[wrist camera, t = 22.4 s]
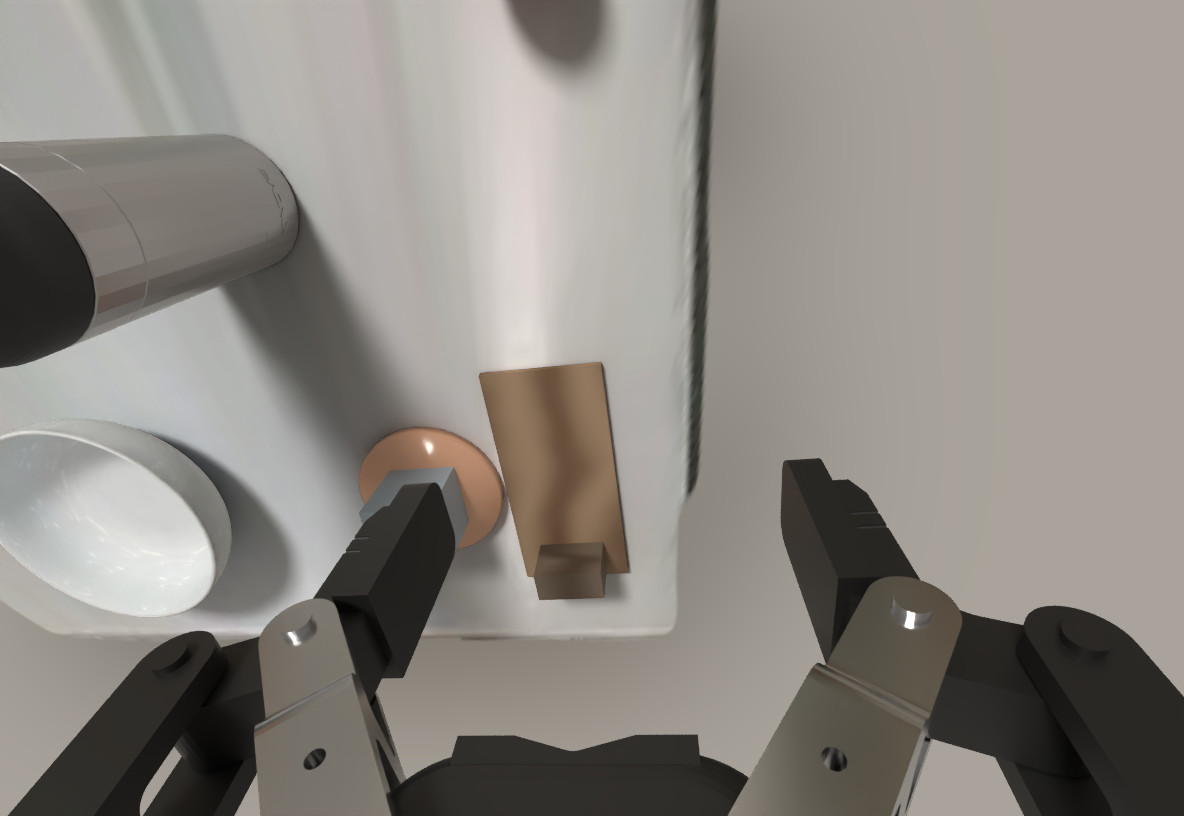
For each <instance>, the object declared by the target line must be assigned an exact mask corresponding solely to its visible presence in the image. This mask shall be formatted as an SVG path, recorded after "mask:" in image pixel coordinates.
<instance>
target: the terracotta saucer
mask: <svg viewBox="0 0 1184 816" xmlns="http://www.w3.org/2000/svg"><path fill="white" fill-rule="evenodd" d="M440 467H454V469H455V472H456V476H457V480H458V483H459V487H460V490H461V494H462V497H463V501H464V504H465V508H466V511H467V515H468V518H469V522H468V525H467V527H466V529H465V532H464V534H463V536H462V539H461V541H460V544H459V546H458V548H457V549H460V548H464V547H467V546H470V545H472V544H474V543H476V542H478V541H480V540H481V539H482V538H484V537H485V536H486V535H487V534H488V533H489V532H490V531H491V530H492V528H493V527H494V525H495V523H496V521H497V519H498V516H499V513H500V510H501V507H502V503H503V487H502V482H501V479H500V476H499V474H498V472H497V470H496V468H495V466H494V465H493V463H492V462H491V461H490V459H489V458H488V457H487V456H486V455H485V454H484V453H483V452H482V451H481V450H480V449H479V448H478V447H476V446H475V445H474V444H472V443H471V442H469V441H468V440H466V439H464V438H463V437H461V436H458V435H456V434H454V433H451V432H448V431H445V430H441V429H436V428H429V427H413V428H406V429H402V430H398V431H396V432H393V433H391V434H389V435H387V436H386V437H384V438H383V439H381V440H380V441H379V442H378V443H377V444H376V445H375V446H374V448H373V449H372V450H371V451H370V453H369V454H368V455H367V456H366V458H365V460H364V462H363V463H362V466H361V469H360V474H359V488H360V493H361V496H362V500H363V502H364V504H366V503H367V502H368V500H369V499H370V497H371V496H372V494H373V493H374V492H375V490H376V489H377V487H378V486H379V485H380V483H381V482H382V480H383V479H384V477H385V476H386V475H387V473H388V472H389V471H394V470H409V469H425V468H440Z"/></svg>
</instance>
